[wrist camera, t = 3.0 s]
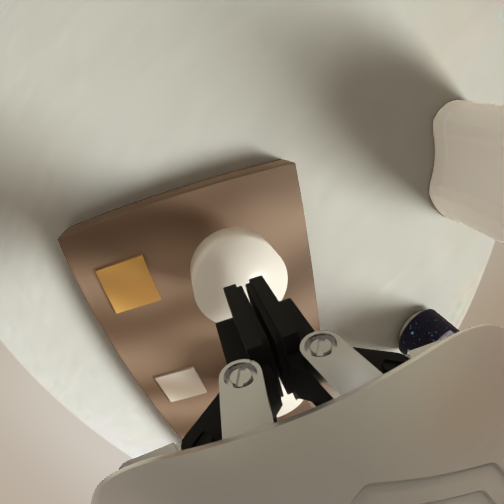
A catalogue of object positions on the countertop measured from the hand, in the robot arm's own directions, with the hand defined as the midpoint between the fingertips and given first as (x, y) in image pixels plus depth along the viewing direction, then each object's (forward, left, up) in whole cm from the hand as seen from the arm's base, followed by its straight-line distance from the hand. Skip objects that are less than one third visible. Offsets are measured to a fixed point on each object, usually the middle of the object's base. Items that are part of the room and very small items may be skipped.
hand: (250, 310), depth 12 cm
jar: (-1, +23, -8) cm, 24 cm away
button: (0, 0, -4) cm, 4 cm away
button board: (+9, -2, -8) cm, 12 cm away
